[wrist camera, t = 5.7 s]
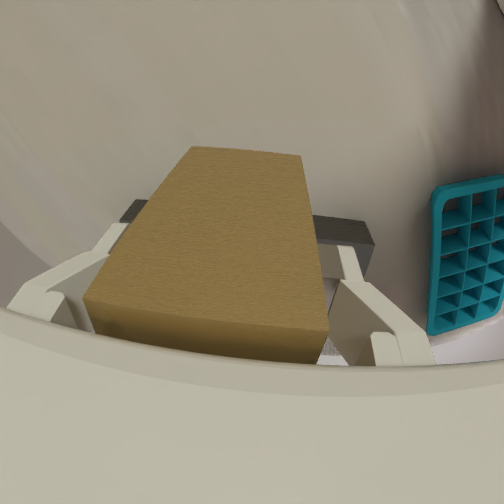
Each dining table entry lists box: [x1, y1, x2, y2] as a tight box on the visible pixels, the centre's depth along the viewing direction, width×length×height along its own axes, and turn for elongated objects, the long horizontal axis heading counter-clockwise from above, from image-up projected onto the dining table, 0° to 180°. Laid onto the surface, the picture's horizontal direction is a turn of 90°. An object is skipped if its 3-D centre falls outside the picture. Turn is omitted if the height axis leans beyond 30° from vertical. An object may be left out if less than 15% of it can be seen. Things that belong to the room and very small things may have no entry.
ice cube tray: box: [426, 174, 504, 336], centre depth 29 cm, size 12×20×3 cm, turn 18°
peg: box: [82, 146, 329, 365], centre depth 9 cm, size 4×4×8 cm
